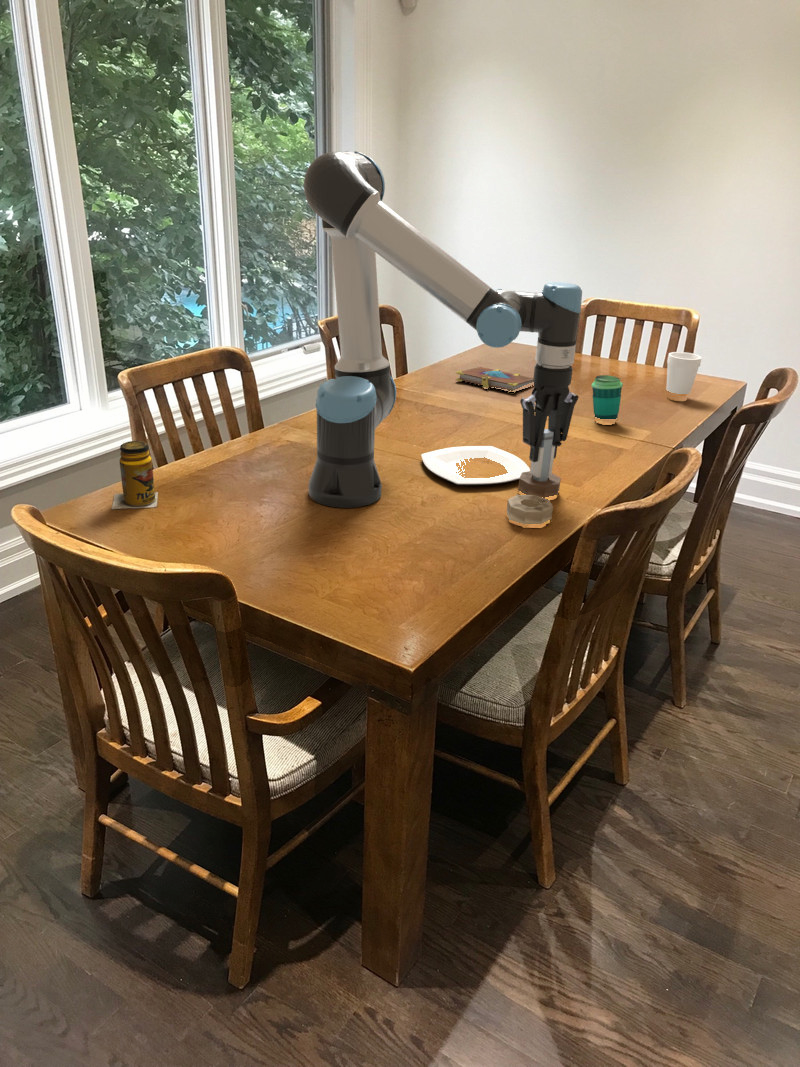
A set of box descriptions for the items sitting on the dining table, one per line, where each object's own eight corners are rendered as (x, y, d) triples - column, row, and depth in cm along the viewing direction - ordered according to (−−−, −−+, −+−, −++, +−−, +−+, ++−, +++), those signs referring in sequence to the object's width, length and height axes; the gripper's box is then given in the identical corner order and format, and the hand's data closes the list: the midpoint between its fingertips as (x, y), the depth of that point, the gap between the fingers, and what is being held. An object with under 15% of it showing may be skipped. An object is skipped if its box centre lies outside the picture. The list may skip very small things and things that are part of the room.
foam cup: (696, 398, 247) (705, 355, 242) (688, 405, 240) (697, 361, 235) (665, 392, 252) (673, 350, 246) (656, 399, 245) (664, 356, 239)
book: (468, 375, 267) (470, 359, 265) (536, 389, 254) (538, 373, 252) (440, 381, 254) (442, 365, 252) (510, 397, 242) (512, 381, 240)
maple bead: (534, 532, 158) (536, 515, 156) (499, 519, 163) (500, 502, 161) (557, 520, 163) (559, 503, 162) (522, 507, 168) (524, 491, 167)
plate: (408, 459, 192) (408, 451, 191) (494, 449, 200) (495, 442, 200) (452, 496, 173) (452, 488, 172) (545, 484, 181) (546, 475, 181)
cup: (605, 428, 218) (611, 384, 212) (580, 420, 223) (586, 377, 218) (623, 423, 223) (630, 379, 217) (598, 415, 228) (604, 372, 223)
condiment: (156, 507, 161) (151, 450, 156) (111, 510, 160) (104, 451, 154) (158, 493, 168) (152, 437, 163) (114, 495, 166) (107, 439, 161)
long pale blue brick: (531, 483, 175) (538, 430, 170) (540, 482, 176) (547, 428, 171) (538, 487, 173) (544, 433, 168) (547, 486, 174) (553, 432, 169)
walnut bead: (534, 504, 170) (536, 488, 169) (511, 489, 177) (512, 474, 175) (565, 497, 174) (568, 482, 172) (542, 483, 180) (543, 468, 179)
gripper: (534, 372, 157) (521, 485, 167) (596, 365, 164) (580, 475, 174) (511, 362, 163) (500, 473, 173) (572, 356, 169) (558, 463, 180)
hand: (540, 474), depth 173 cm, fingers closed on long pale blue brick, 2 cm apart
